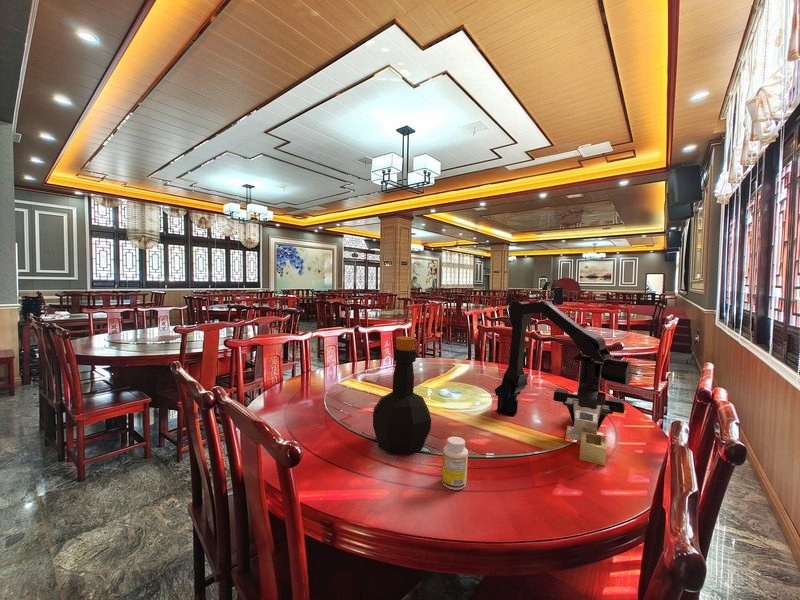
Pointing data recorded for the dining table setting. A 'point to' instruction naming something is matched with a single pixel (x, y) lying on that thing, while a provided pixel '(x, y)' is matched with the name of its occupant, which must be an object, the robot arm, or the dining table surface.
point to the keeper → (573, 436)
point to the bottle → (402, 407)
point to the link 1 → (585, 422)
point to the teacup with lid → (577, 407)
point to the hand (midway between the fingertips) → (585, 427)
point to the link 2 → (593, 448)
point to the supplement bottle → (454, 464)
